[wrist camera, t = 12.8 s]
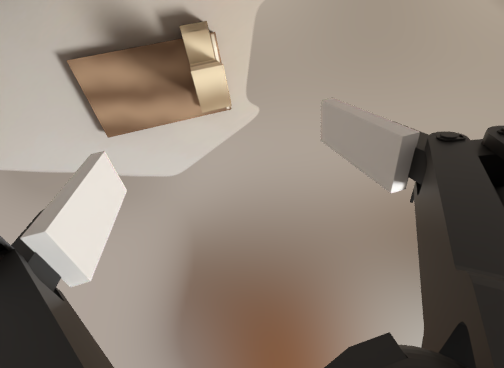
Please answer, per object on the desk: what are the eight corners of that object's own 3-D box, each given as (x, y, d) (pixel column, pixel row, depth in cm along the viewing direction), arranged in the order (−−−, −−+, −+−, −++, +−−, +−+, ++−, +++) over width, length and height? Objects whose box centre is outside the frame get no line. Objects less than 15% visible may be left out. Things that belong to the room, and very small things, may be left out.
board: (72, 59, 35) (66, 60, 34) (213, 32, 38) (215, 32, 36) (111, 133, 42) (107, 137, 40) (229, 106, 44) (231, 109, 43)
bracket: (179, 26, 36) (176, 21, 25) (205, 22, 36) (213, 14, 26) (201, 105, 43) (206, 127, 32) (222, 100, 43) (234, 120, 32)
